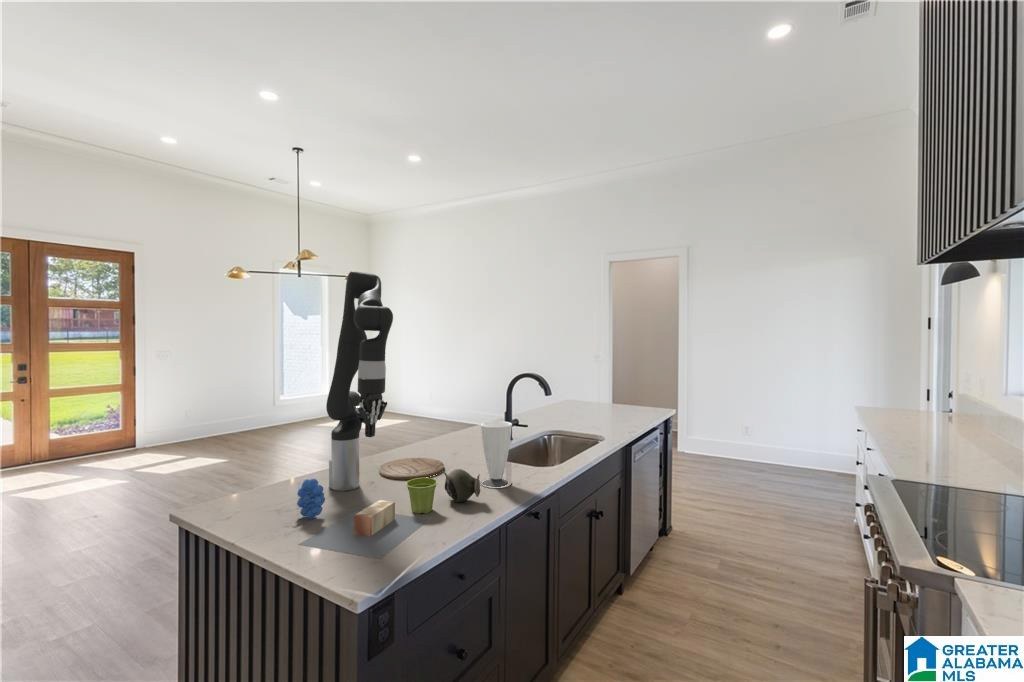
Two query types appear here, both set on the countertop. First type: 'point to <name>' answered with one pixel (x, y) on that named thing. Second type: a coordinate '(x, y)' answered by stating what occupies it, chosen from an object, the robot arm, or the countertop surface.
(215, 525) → the countertop surface
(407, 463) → the trivet
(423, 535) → the countertop surface
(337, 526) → the rubber mat
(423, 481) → the plant pot
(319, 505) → the grapes
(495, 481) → the cup
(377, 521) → the maple block
